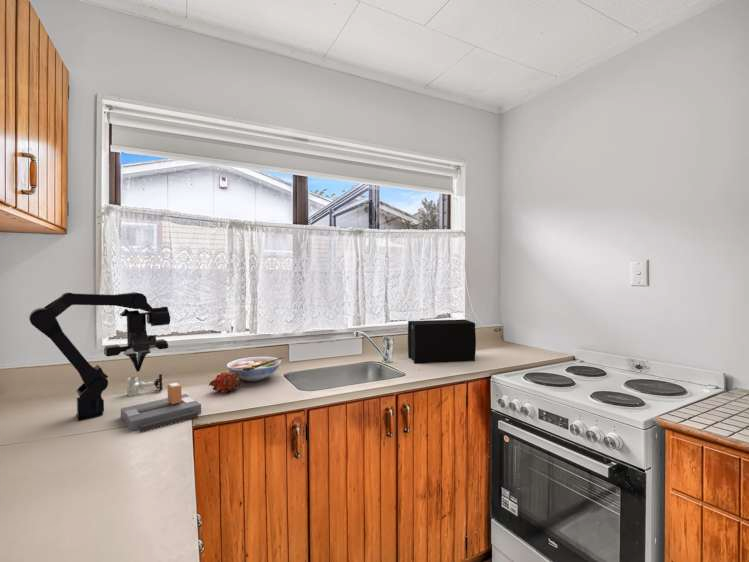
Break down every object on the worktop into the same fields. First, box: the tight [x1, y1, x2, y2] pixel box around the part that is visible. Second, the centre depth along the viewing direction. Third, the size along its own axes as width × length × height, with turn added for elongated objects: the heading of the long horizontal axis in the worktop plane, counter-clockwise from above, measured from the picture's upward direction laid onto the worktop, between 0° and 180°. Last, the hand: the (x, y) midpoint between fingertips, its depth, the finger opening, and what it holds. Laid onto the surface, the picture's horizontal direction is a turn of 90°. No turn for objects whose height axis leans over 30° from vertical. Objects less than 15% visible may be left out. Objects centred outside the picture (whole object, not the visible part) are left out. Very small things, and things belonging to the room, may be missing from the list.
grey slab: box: [139, 411, 199, 433], centre depth 123 cm, size 16×20×2 cm
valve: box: [125, 373, 163, 397], centre depth 146 cm, size 7×7×12 cm
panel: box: [120, 393, 202, 432], centre depth 123 cm, size 20×15×3 cm
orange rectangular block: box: [167, 382, 182, 404], centre depth 126 cm, size 3×4×6 cm
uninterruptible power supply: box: [407, 319, 477, 365], centre depth 197 cm, size 16×34×20 cm, turn 98°
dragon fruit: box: [208, 370, 242, 394], centre depth 147 cm, size 8×8×12 cm
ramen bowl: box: [226, 356, 285, 382], centre depth 163 cm, size 25×23×8 cm
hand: (137, 371), depth 133 cm, fingers closed
